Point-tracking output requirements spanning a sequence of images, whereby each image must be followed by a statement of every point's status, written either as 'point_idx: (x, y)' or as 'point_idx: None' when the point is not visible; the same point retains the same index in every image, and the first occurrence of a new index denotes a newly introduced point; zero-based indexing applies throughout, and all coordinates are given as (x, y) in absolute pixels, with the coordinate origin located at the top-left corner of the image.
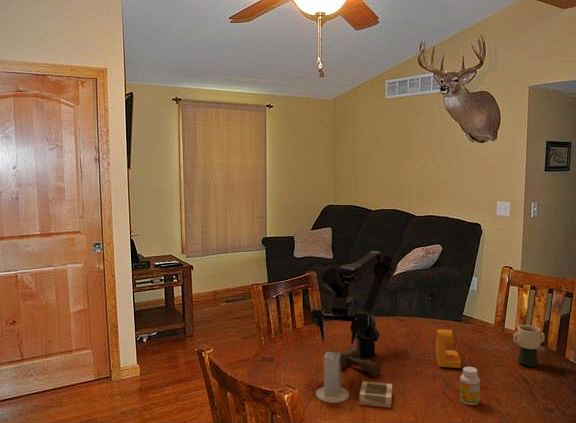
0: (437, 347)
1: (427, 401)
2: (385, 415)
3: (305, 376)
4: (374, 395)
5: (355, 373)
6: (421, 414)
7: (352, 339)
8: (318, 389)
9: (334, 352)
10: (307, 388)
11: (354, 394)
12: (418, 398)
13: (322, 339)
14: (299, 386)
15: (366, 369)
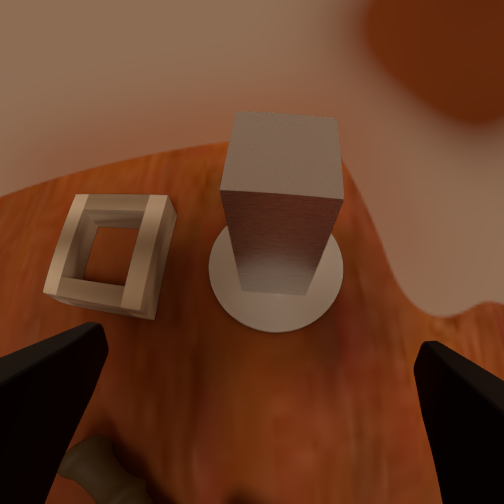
0: None
1: (4, 262)
2: (116, 172)
3: (409, 416)
4: (118, 197)
5: (181, 482)
6: (39, 196)
7: (71, 335)
8: (338, 286)
9: (274, 188)
10: (383, 307)
11: (188, 284)
12: (14, 277)
13: (438, 343)
14: (415, 318)
15: (123, 469)
